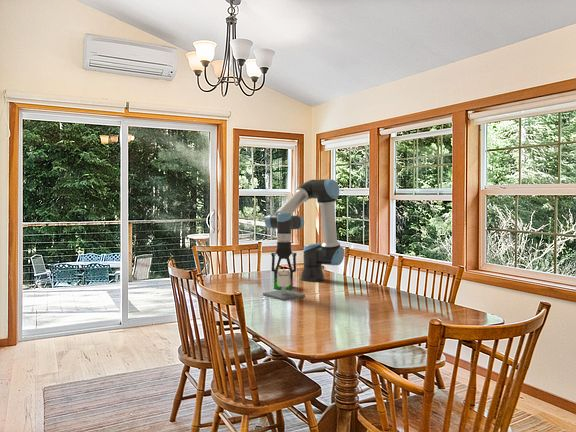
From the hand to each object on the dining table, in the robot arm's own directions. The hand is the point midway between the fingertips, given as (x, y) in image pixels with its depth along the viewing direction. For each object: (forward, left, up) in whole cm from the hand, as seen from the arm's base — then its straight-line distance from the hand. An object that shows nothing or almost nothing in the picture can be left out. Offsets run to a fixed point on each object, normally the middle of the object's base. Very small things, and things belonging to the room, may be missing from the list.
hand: (283, 284), depth 244 cm
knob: (0, 0, 0) cm, 0 cm away
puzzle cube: (-15, -18, -6) cm, 24 cm away
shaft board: (0, 0, -6) cm, 6 cm away
